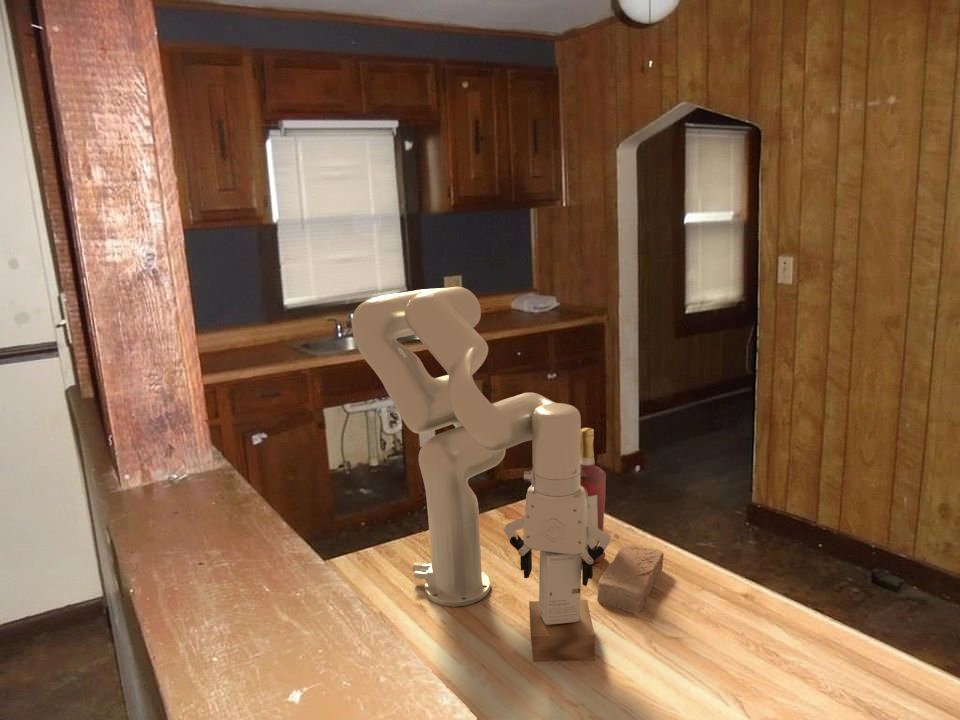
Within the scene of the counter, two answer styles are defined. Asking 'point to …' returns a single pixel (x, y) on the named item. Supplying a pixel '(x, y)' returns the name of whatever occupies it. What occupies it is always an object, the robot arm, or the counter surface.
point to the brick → (630, 577)
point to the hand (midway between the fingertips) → (556, 577)
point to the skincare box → (559, 587)
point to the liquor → (592, 486)
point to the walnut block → (562, 637)
